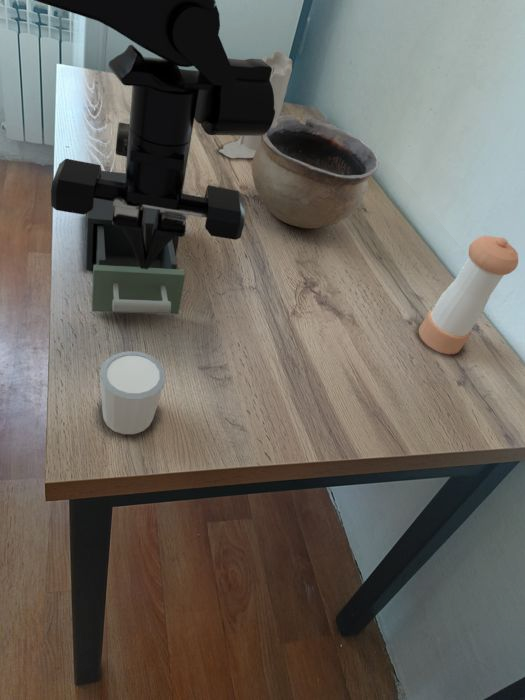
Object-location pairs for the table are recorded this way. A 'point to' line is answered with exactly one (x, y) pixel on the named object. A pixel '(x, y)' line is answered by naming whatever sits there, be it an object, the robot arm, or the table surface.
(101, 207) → the cabinet
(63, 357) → the table surface
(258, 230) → the table surface
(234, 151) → the candle
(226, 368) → the table surface
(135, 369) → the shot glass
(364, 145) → the ceramic bowl
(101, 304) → the drawer
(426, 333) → the salt shaker
